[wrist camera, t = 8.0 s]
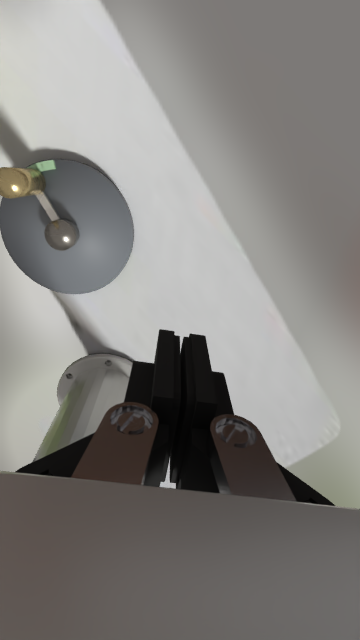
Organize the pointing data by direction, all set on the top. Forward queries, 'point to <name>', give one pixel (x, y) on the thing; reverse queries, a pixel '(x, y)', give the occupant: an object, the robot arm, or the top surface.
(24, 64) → the top surface
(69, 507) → the robot arm
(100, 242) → the dial plate
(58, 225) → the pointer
